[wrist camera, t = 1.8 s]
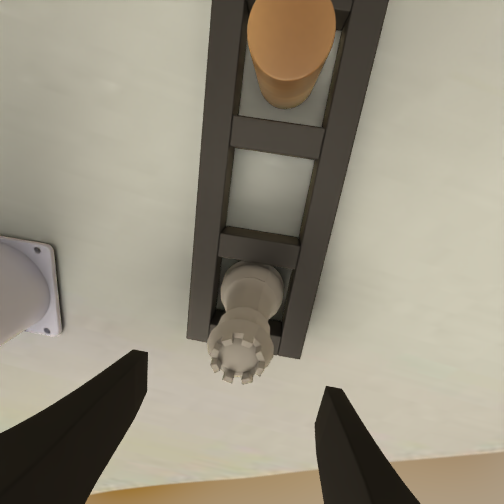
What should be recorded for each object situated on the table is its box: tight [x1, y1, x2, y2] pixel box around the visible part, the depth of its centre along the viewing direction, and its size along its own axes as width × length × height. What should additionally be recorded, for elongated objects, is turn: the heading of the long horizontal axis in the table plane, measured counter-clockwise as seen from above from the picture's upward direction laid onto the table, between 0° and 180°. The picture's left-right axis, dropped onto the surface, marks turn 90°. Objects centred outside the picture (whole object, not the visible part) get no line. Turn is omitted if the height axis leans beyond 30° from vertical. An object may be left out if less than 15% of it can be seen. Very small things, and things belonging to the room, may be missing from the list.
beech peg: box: [247, 0, 336, 109], centre depth 13 cm, size 3×3×6 cm
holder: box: [186, 0, 389, 359], centre depth 17 cm, size 8×21×2 cm, turn 172°
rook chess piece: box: [207, 261, 284, 384], centre depth 16 cm, size 4×4×8 cm
